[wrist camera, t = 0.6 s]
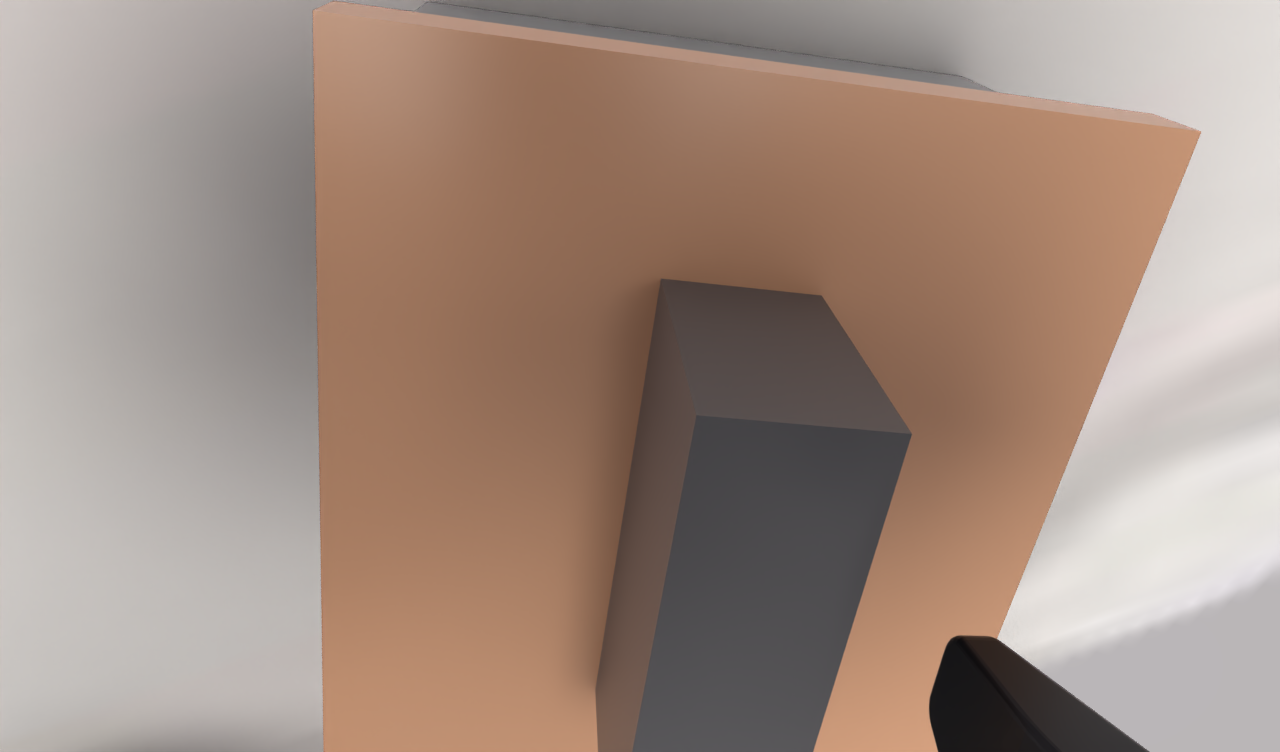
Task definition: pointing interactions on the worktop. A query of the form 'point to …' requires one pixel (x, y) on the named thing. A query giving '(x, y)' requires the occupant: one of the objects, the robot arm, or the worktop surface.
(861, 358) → the lid
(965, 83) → the storage box
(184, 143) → the worktop surface
